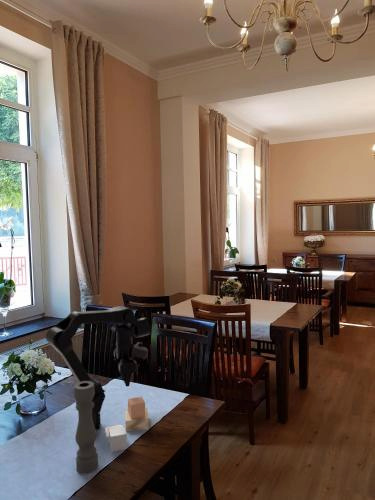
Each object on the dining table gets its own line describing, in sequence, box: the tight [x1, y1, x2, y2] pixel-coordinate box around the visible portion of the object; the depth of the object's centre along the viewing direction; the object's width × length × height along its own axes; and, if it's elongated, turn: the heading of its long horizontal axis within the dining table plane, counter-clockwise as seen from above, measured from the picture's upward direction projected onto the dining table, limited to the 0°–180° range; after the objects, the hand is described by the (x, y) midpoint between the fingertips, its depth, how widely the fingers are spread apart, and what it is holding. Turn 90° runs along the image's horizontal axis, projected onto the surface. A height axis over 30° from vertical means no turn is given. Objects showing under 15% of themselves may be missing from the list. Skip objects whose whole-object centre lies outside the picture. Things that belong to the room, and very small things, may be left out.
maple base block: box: [124, 407, 150, 432], centre depth 139 cm, size 8×8×4 cm
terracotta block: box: [127, 396, 146, 419], centre depth 139 cm, size 5×5×5 cm
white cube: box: [108, 425, 128, 453], centre depth 126 cm, size 5×5×5 cm
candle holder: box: [73, 381, 99, 475], centre depth 115 cm, size 6×6×25 cm
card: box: [104, 424, 123, 438], centre depth 135 cm, size 6×6×1 cm
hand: (125, 381), depth 147 cm, fingers open, 9 cm apart
